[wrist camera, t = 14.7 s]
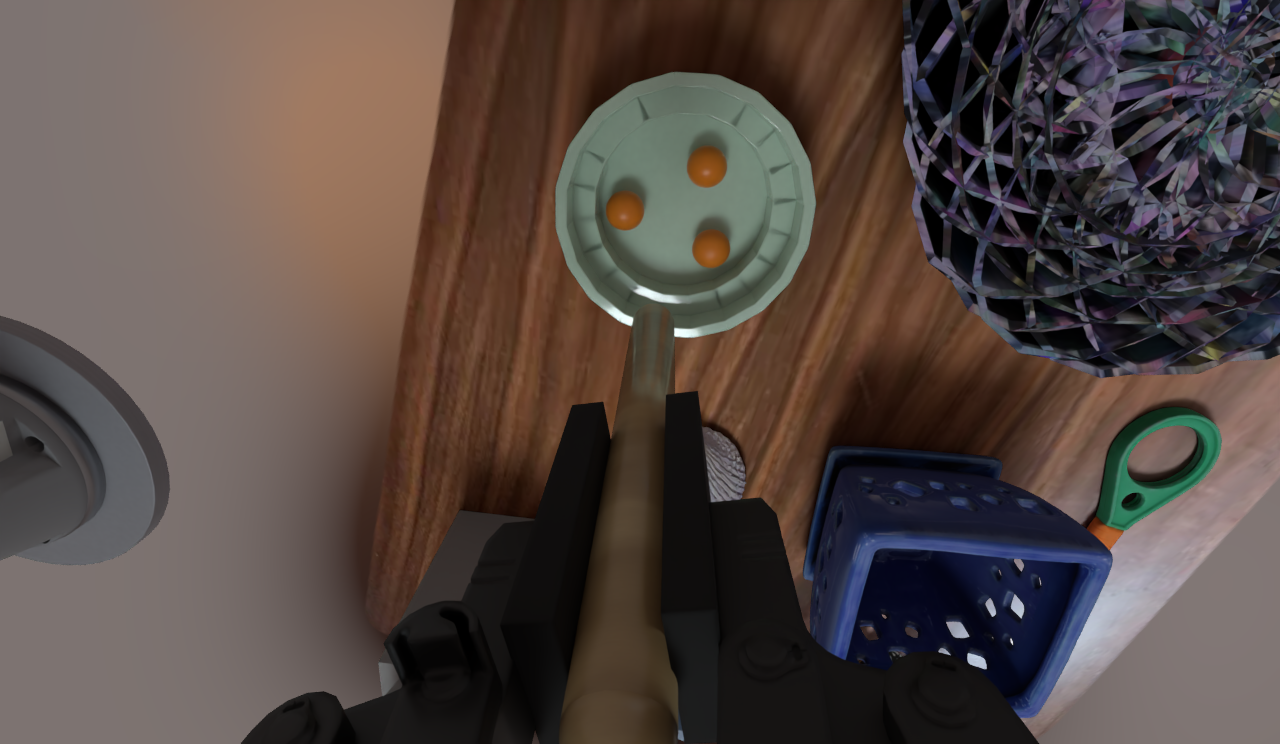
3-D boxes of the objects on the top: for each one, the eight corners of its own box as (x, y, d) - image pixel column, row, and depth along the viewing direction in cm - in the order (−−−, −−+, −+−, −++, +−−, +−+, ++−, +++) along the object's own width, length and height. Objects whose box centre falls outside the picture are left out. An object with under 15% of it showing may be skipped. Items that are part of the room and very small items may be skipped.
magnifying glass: (1146, 394, 38) (1166, 407, 36) (1229, 420, 38) (1252, 433, 37) (1017, 566, 44) (1030, 582, 43) (1090, 586, 45) (1105, 604, 43)
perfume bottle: (544, 586, 48) (475, 837, 31) (461, 576, 48) (350, 822, 32) (546, 520, 45) (472, 758, 29) (459, 510, 45) (335, 741, 29)
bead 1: (603, 210, 35) (597, 226, 33) (617, 177, 33) (611, 192, 32) (636, 226, 35) (632, 243, 33) (652, 194, 34) (648, 210, 32)
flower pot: (1008, 430, 40) (1133, 553, 29) (954, 579, 45) (1042, 730, 34) (810, 416, 40) (860, 532, 29) (780, 566, 46) (813, 710, 35)
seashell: (744, 422, 37) (759, 566, 39) (735, 400, 42) (750, 528, 44) (584, 440, 38) (607, 580, 40) (596, 416, 43) (616, 541, 45)
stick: (627, 327, 23) (532, 811, 7) (642, 292, 23) (572, 736, 7) (664, 342, 24) (649, 845, 8) (680, 307, 23) (701, 776, 7)
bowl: (543, 262, 37) (524, 285, 32) (616, 36, 31) (606, 24, 27) (736, 338, 38) (744, 370, 33) (838, 134, 33) (864, 138, 28)
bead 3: (682, 259, 35) (688, 251, 33) (699, 227, 35) (707, 217, 33) (714, 277, 35) (723, 271, 33) (731, 246, 35) (741, 237, 33)
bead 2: (690, 157, 34) (674, 181, 33) (705, 129, 32) (689, 154, 31) (723, 178, 34) (708, 203, 33) (739, 151, 32) (724, 176, 31)
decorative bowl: (1398, -348, 25) (1813, -641, 16) (1354, 267, 34) (1606, 310, 24) (802, -107, 30) (854, -226, 20) (895, 382, 38) (961, 455, 29)
